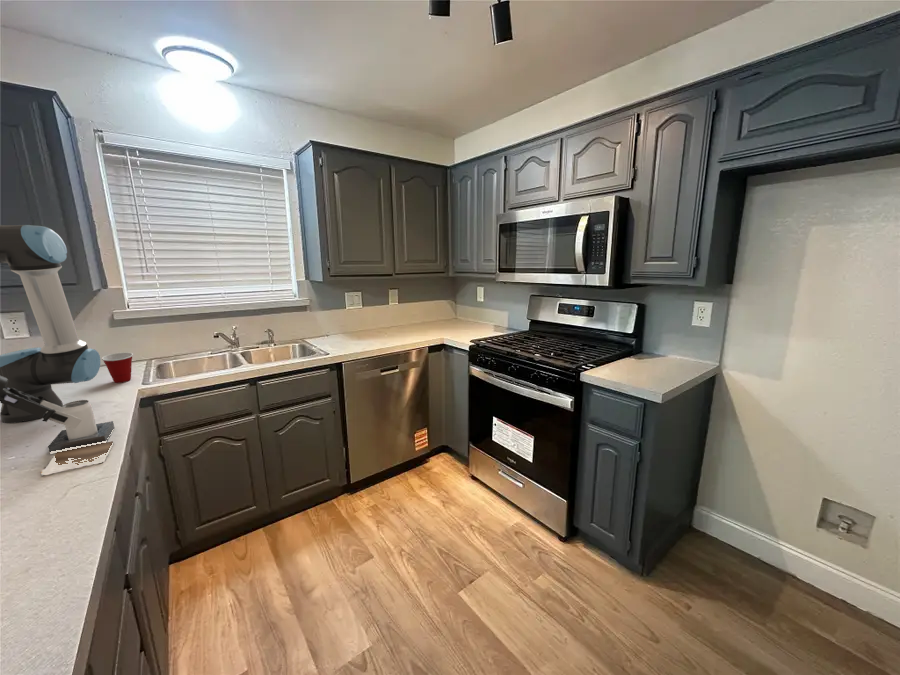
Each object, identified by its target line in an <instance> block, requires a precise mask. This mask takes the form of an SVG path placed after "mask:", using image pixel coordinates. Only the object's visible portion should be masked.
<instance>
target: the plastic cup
mask: <svg viewBox="0 0 900 675" xmlns="http://www.w3.org/2000/svg"><path fill="white" fill-rule="evenodd" d="M133 357H134V353H133V352H115V353H110V354H107V355H106V354H105V355H104V356H102V357H100V360H101V361H103V363H104V365H105V366H106V368H107V370H108V372H109V375H110V376H111V379H112V381H113V382H114V383H115V384H121V383H126V382H129V381H131V380H132V363H133V362H132V360H133Z"/></svg>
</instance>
